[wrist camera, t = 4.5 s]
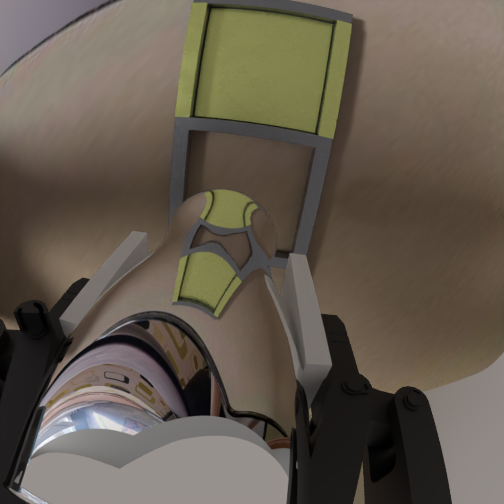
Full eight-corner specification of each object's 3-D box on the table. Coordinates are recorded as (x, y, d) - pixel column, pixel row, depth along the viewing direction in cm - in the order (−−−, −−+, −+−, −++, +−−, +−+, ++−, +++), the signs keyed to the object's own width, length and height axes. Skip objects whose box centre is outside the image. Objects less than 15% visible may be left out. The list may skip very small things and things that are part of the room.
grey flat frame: (172, 329, 33) (169, 337, 31) (198, -2, 17) (194, -8, 16) (278, 346, 33) (279, 355, 32) (348, 18, 17) (353, 13, 16)
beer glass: (180, 297, 18) (102, 537, 5) (148, 192, 15) (-61, 435, 2) (290, 285, 18) (314, 563, 4) (276, 170, 15) (333, 566, 1)
